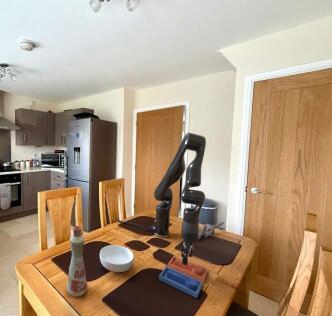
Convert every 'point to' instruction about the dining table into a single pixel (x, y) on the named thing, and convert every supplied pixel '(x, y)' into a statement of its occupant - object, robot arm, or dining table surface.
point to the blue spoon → (182, 280)
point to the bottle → (77, 265)
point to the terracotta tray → (186, 272)
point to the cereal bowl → (116, 258)
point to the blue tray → (178, 285)
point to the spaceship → (208, 229)
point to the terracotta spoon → (189, 267)
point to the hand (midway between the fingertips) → (187, 260)
